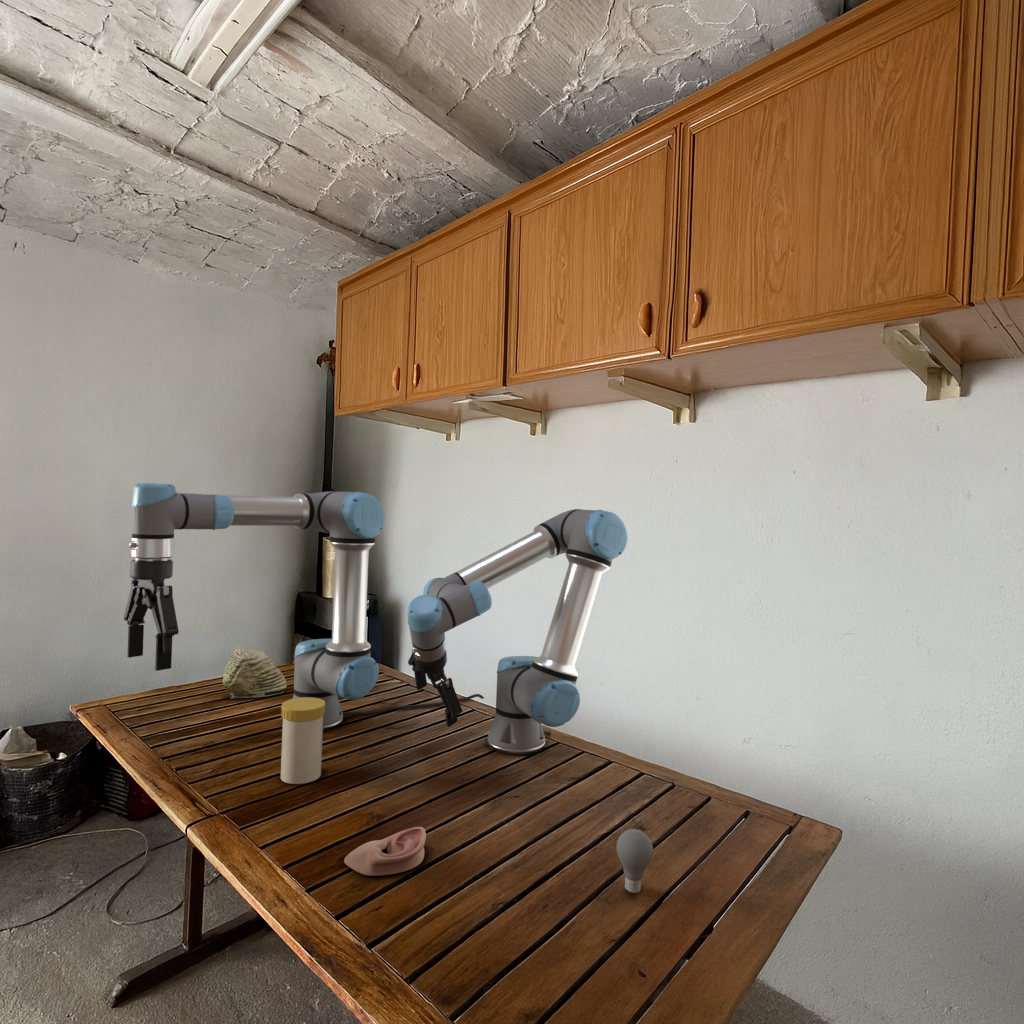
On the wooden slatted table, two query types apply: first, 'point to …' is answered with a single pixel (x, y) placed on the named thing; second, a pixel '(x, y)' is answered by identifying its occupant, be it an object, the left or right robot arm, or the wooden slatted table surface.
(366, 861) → the anatomical model
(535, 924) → the wooden slatted table surface
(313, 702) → the lid
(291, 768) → the jar
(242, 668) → the fossil
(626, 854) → the light bulb
